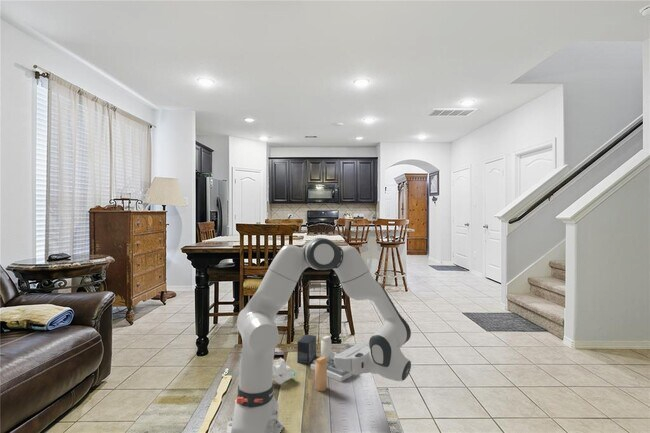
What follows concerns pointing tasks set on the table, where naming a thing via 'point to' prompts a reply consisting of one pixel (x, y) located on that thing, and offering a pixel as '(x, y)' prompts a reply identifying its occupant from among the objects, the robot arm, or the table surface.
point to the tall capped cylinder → (321, 374)
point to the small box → (306, 349)
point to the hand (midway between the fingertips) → (339, 349)
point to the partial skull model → (282, 371)
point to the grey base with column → (331, 361)
